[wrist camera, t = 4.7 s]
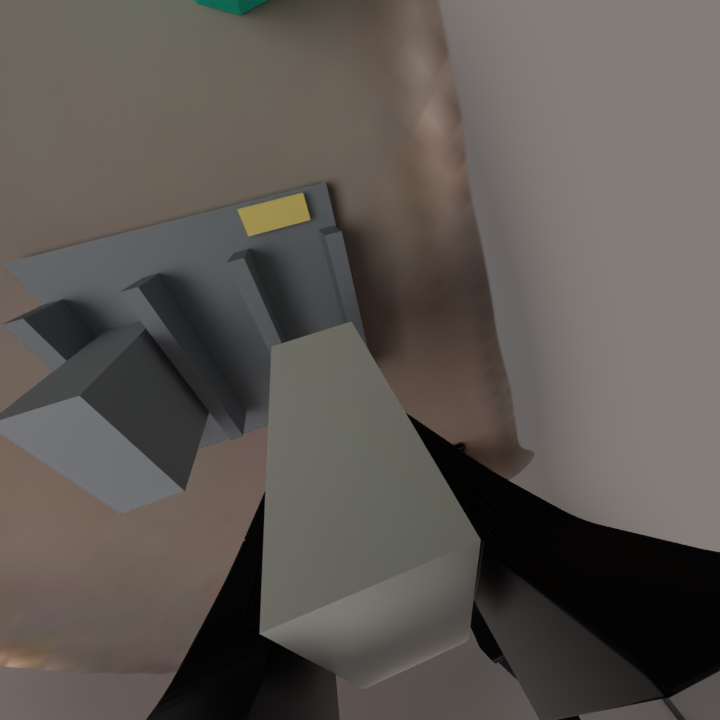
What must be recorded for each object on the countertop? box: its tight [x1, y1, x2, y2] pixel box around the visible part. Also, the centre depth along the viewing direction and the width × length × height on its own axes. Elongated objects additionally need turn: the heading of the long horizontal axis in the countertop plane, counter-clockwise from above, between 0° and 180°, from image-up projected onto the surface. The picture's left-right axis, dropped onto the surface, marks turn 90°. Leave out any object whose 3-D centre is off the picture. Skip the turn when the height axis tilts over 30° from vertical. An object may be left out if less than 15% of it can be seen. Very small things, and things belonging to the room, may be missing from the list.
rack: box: [0, 182, 368, 514], centre depth 14 cm, size 14×15×8 cm
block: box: [260, 321, 481, 689], centre depth 8 cm, size 6×3×7 cm, turn 12°
